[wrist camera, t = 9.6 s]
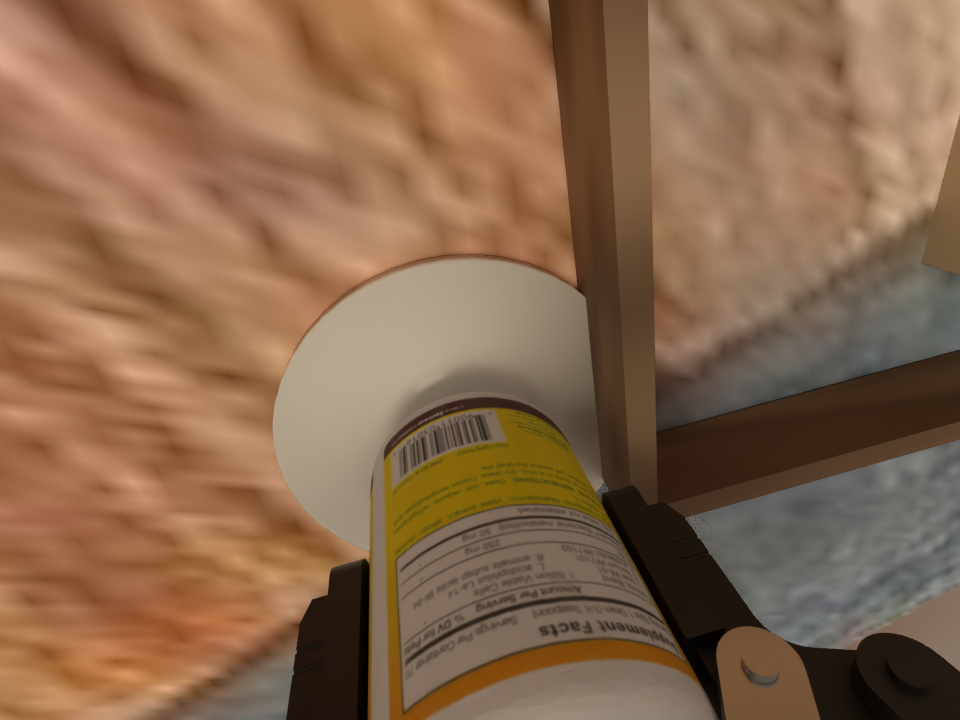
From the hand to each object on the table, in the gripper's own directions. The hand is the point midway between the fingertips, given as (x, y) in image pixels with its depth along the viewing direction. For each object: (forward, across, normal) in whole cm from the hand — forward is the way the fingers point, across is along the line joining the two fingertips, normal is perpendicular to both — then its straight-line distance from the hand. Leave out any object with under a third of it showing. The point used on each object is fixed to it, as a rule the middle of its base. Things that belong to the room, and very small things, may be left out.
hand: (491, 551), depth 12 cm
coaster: (+5, 0, 0) cm, 5 cm away
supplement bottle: (+3, 0, 0) cm, 3 cm away
